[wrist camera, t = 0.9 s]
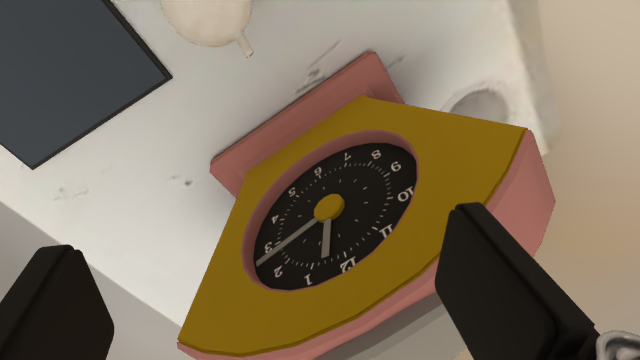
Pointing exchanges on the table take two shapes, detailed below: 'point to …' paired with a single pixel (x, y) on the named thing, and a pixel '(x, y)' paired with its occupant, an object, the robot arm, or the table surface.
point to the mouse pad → (67, 73)
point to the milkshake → (210, 21)
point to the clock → (354, 224)
